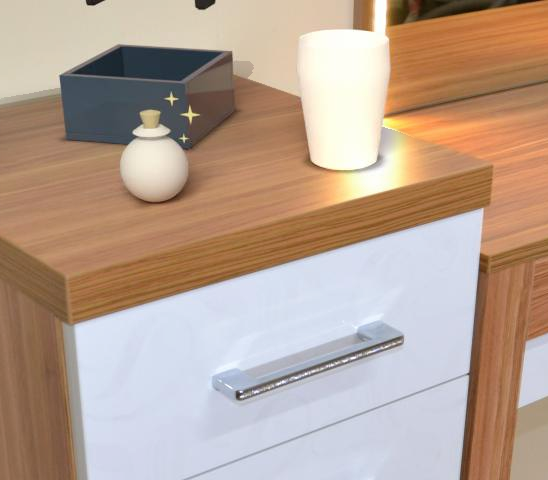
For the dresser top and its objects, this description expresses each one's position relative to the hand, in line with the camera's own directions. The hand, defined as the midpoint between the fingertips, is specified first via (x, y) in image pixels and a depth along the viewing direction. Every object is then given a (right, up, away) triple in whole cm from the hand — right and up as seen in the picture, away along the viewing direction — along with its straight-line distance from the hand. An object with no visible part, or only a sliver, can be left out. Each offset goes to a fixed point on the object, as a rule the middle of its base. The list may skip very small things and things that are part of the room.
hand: (151, 4), depth 96 cm
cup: (+16, -11, +18) cm, 26 cm away
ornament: (0, -16, +8) cm, 18 cm away
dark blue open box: (-5, -5, +29) cm, 30 cm away
